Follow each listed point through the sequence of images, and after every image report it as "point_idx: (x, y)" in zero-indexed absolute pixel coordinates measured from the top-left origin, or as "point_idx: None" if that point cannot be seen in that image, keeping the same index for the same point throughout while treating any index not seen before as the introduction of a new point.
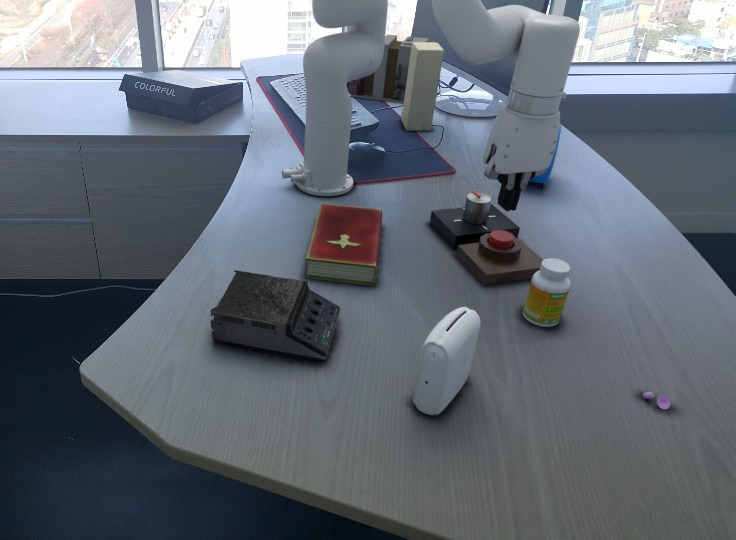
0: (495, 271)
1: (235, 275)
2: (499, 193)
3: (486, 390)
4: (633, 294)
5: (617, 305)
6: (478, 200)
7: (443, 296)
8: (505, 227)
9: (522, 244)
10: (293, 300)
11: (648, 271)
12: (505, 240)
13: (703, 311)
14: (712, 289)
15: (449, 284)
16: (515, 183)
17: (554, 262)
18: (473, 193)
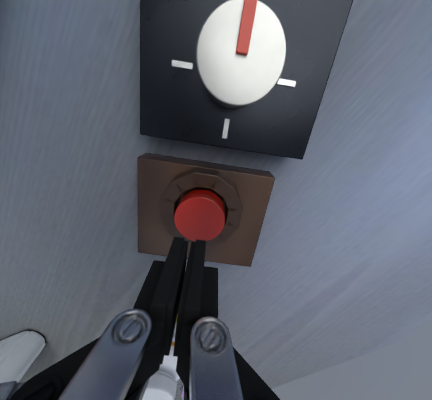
0: (156, 249)
1: None
2: (144, 284)
3: (62, 351)
4: (314, 310)
5: (276, 316)
6: (221, 79)
7: (74, 240)
8: (272, 146)
9: (262, 201)
10: None
11: (386, 286)
12: (192, 238)
13: (348, 346)
14: (405, 329)
15: (95, 220)
16: (177, 366)
17: (154, 397)
18: (242, 9)
